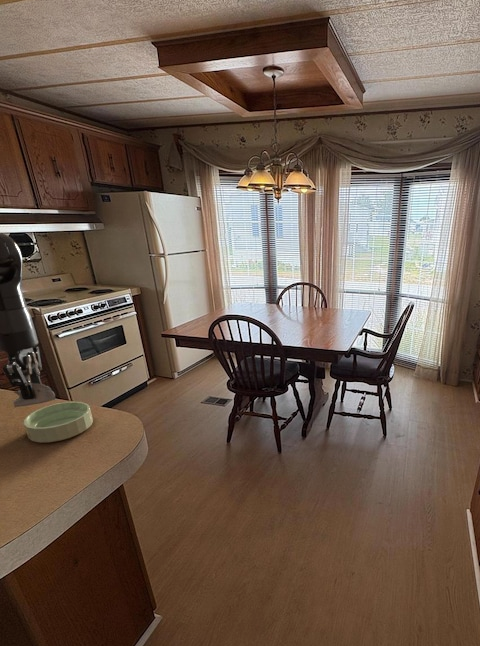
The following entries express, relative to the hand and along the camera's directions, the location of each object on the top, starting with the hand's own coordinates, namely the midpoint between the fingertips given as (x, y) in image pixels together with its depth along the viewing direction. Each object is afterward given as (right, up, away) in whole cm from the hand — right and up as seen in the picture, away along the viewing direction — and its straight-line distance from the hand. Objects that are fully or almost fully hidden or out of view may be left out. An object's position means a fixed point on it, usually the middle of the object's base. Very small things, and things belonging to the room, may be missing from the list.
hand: (33, 393), depth 84 cm
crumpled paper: (0, -2, +1) cm, 3 cm away
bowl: (-5, -11, +16) cm, 20 cm away
